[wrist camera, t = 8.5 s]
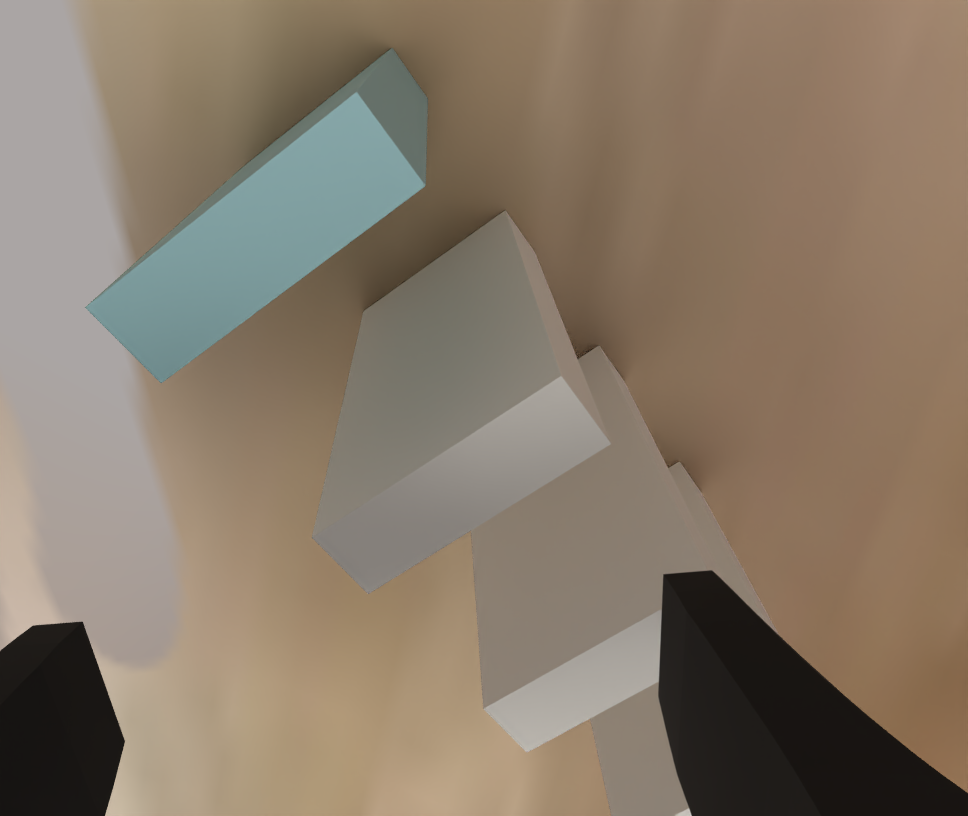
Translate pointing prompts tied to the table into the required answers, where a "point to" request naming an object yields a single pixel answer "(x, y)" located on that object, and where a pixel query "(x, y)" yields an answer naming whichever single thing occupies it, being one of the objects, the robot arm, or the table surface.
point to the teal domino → (274, 220)
